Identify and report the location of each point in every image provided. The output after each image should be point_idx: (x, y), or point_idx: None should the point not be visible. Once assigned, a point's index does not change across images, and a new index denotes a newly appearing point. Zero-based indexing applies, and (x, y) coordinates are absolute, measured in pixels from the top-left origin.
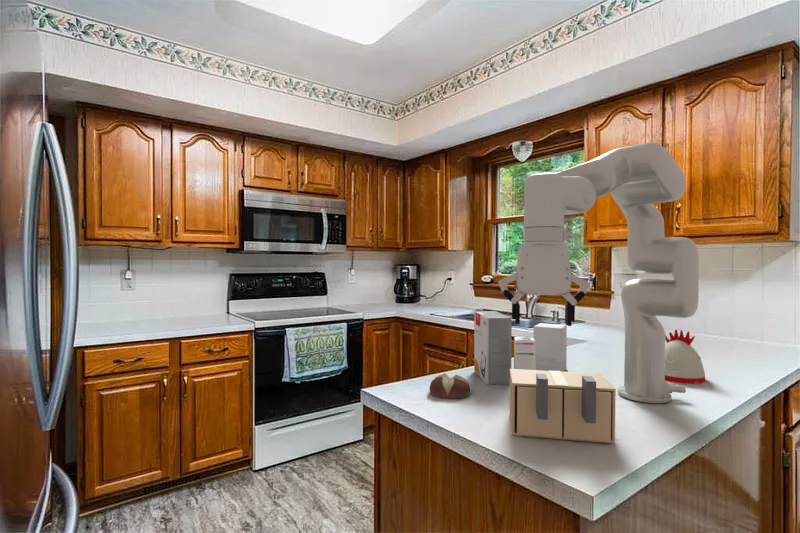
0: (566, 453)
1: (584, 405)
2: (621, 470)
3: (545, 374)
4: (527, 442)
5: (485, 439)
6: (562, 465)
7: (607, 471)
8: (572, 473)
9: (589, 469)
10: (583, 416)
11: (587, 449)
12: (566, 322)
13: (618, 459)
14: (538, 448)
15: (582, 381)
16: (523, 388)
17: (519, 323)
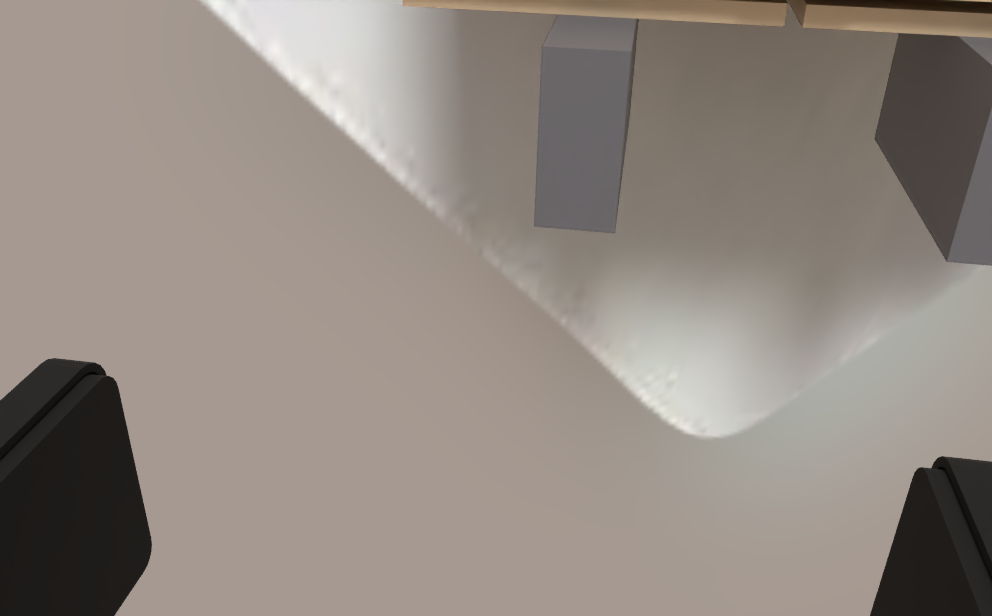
0: (723, 127)
1: (908, 125)
2: (933, 275)
3: (625, 79)
4: None
5: (303, 7)
6: (663, 256)
7: (858, 290)
8: (687, 321)
9: (779, 280)
10: (895, 65)
11: (866, 58)
12: (889, 607)
13: None
14: None
15: (978, 87)
16: (453, 5)
17: (148, 547)
